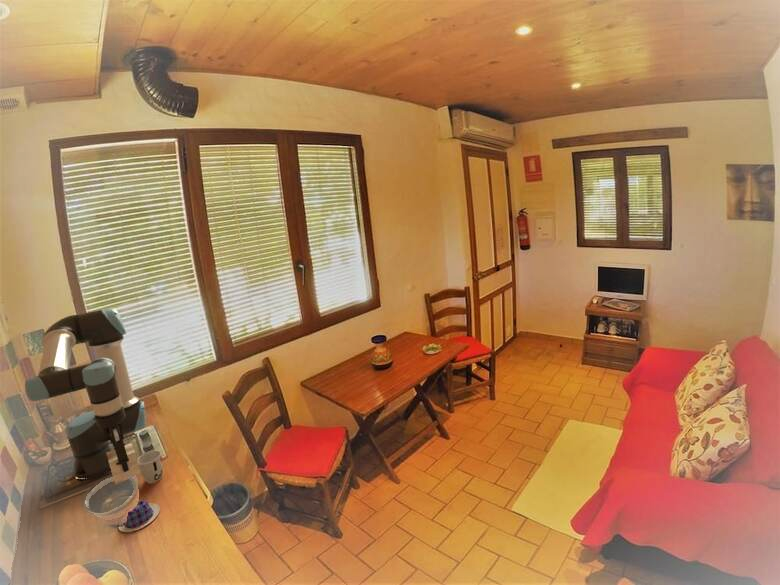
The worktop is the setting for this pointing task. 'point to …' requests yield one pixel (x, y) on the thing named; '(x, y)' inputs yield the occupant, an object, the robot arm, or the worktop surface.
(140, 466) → the cup
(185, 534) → the worktop surface
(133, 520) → the plate of blueberries
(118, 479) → the block
